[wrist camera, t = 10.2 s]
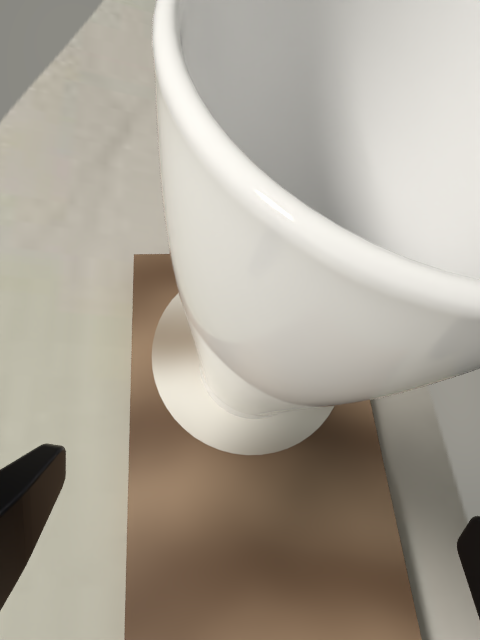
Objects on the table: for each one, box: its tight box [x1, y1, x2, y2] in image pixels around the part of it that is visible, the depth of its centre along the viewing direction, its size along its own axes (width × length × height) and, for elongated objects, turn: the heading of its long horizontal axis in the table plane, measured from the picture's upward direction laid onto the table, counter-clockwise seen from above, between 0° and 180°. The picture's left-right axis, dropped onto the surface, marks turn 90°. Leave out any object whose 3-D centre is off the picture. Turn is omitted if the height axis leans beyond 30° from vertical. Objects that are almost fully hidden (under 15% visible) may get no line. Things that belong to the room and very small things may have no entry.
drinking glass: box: [152, 0, 480, 419], centre depth 11 cm, size 7×7×15 cm
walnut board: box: [125, 254, 422, 640], centre depth 17 cm, size 20×12×1 cm, turn 5°
